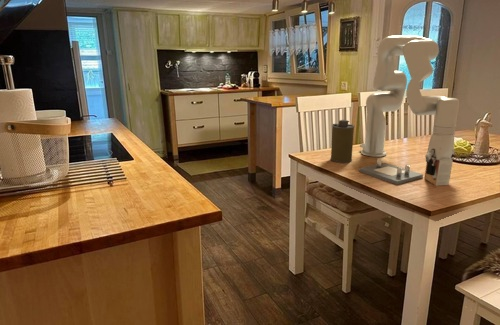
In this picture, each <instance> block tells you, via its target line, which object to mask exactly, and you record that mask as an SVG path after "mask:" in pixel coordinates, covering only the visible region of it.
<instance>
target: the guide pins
mask: <svg viewBox="0 0 500 325" xmlns="http://www.w3.org/2000/svg"><path fill="white" fill-rule="evenodd" d="M376 159H377V160H376V164H377V168H381V163H382V161H383V160H382V158H381V157H380V158H379V157H377V158H376ZM404 167H405V168H404V169H405V173H404V174H405V175H409V171H411V165H410V164H405V166H404ZM402 168H403V167H402V166H399V165H398V166H397V175H396V176H397V177H401V173H402Z"/></svg>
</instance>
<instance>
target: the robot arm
mask: <svg viewBox="0 0 500 325" xmlns="http://www.w3.org/2000/svg"><path fill="white" fill-rule="evenodd" d="M439 47H440V46H439V44H438V43H437V41H435V40H434V39H430V38H426V37H423V36H419V35H389V36H386V37H384V38H383V39H382V40H381V41H379V43H378V47H377V64H376V68H375V72H374V75H373V76H374V77H373V83H372V84H373V85H372V87H373V88H374V90H375V91H377V92H375V93H371V94H369V95H368V96H367V98H366V99H365V100H366V101H365V106H366V126H365V137H364V142H362V143H361V144H360V145H359V148H362V150H361V151H360V154H362V155H363V156H365V157H373V158H379V157H380V158H381V157H384V156H385V157H386V156H387V151H385V149H384V148H385V138H386V129H387V118H386V116H385V115H384V113H385V112H388V113H389V112H396V111H398V110H400V108H401V106H402V104H403V100H404V96H406V100H407V104H408V106H409V109H410V111H411V112H412V113H413V114H414V115H415V116H432V115H433V116H434V119H433V120H434V121H433V126H432V128H433V129H432V134H431V135H430V139H429V142H428V147H427V151H426V154H425V162H426V164H427V170H426V169H425V170H426V174H429V175H435V168H436V166H435V164H436V162H437V160H441V159H445V158H449V159H452V160H453V157H454V155H455V152H456V149H455V148H454V147H455V135H456V134H455V133H456V128H457V121H458V115H459V110H460V109H459V108H460V100H459V99H458V98H456V97H446V96H443V95H424V96H423V95H422V92H421V89H420V83H421V82H422V81H425V80H427V79H428V78H430V77H431V76H432V75H433V73H434V69H433V66H432V63H431V61H432V60H433V61H434V60H435V59H436V58H437V57H438V55H439V51H440V48H439ZM395 56H400V57H401V56H402V57H404V58H403V59H404V60H405V63H406V64H405V65H406V68H407V70H408V72H409V76H410V80H409V82H408V78H407V75H406V73H405V72H404V71H401V70H396V65H397V61H396V57H395ZM378 91H379V92H378ZM405 93H406V95H405ZM434 157H435V158H434ZM432 160H434V161H432Z"/></svg>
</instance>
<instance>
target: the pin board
mask: <svg viewBox="0 0 500 325" xmlns="http://www.w3.org/2000/svg"><path fill="white" fill-rule="evenodd" d="M397 167H398V166H397V165H393V164H391V163H387V162H381V168H377V163H376V164H372V165H369V166H368V165H367V166H364V167H359V169H358V172H359V173H363V174H365V175H367V176H371V177H373V178H376V179H379V180H382V181H385V182H387V183H390V184H394V185H396V186H398V185H401V184H405V183H409V182H412V181H416V180H420V179H424V174H423V173H420V172H416V171H413V170H410V171H409V175H405V174H404V173H405V168H403V167H402V173H401V177H397V176H396V175H397Z"/></svg>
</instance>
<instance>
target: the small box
mask: <svg viewBox="0 0 500 325" xmlns="http://www.w3.org/2000/svg"><path fill="white" fill-rule="evenodd" d="M434 158H435V157H434ZM432 161H434V160H432ZM453 162H454V161H453V158H452V159H449V158H445V159H441V160H437V162H436V164H435V166H436V168H435V175H429V174H426V170H427V164H426V166H425V171H424V176H423V179H424V180H425V181H427V182H429V183H431V185H434V186H435V187H437V186H449V184H450V180H451V173H452V168H453Z"/></svg>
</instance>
